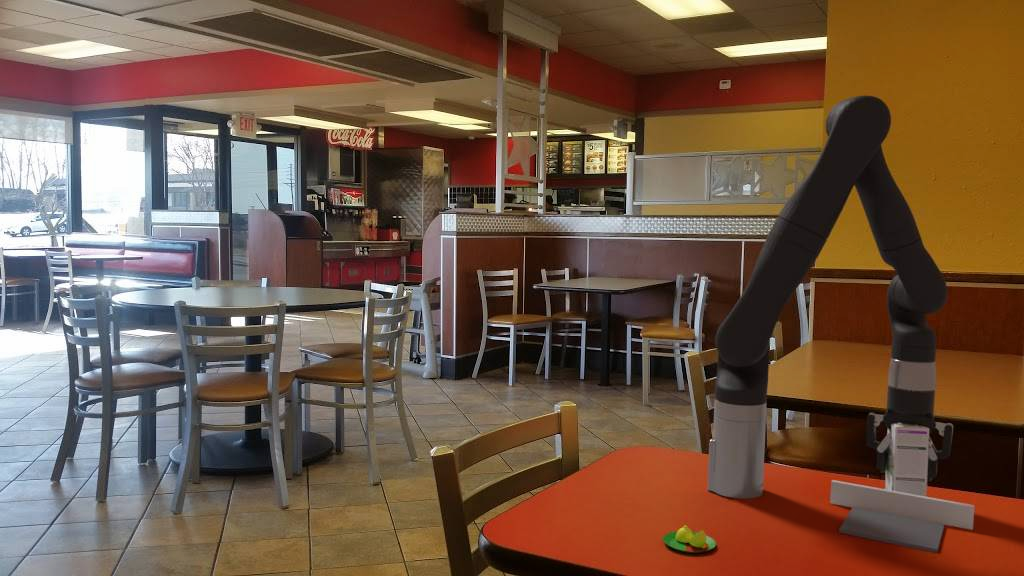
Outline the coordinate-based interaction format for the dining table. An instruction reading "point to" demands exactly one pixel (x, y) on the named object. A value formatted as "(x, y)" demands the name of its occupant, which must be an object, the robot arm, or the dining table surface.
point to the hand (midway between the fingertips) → (906, 475)
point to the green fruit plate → (688, 539)
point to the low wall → (902, 504)
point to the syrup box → (907, 459)
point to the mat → (893, 529)
